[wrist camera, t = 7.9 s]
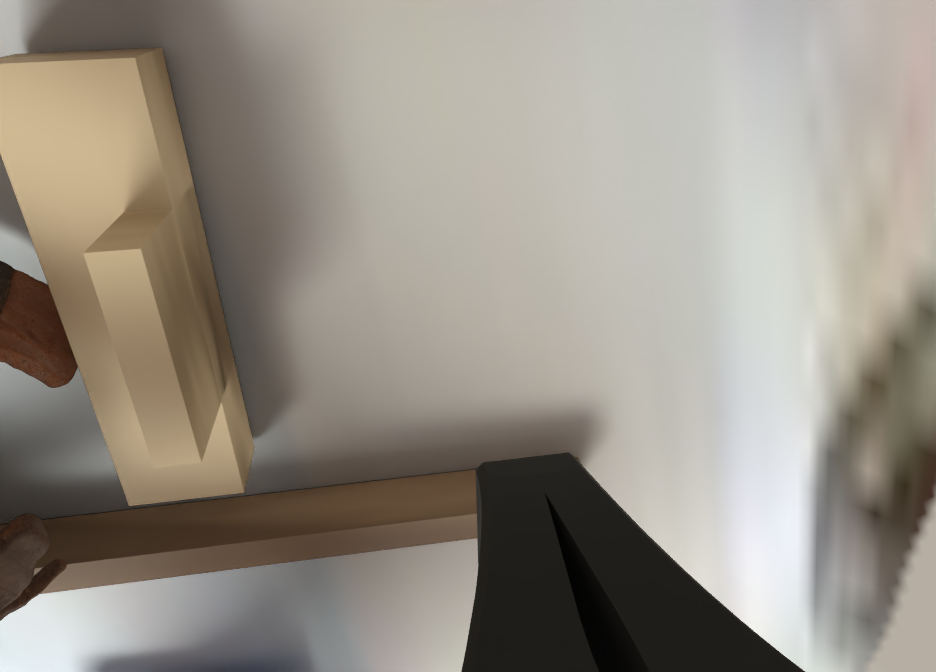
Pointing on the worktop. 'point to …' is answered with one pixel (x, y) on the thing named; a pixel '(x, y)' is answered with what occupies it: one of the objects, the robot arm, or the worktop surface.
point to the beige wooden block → (128, 264)
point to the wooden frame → (260, 530)
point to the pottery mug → (52, 362)
